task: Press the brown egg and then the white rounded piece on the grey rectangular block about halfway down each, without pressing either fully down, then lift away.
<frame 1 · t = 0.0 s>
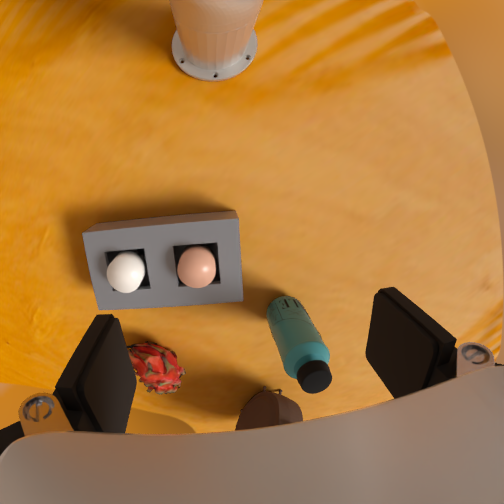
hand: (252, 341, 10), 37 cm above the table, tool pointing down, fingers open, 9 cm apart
beverage bottle: (282, 306, 52), on the table
alarm clock: (262, 399, 59), on the table
grey rectangular block: (167, 254, 47), on the table
dragon fruit: (157, 354, 52), on the table
brown egg: (197, 265, 42), point 6 cm above the table, slide at 0.0 cm
white rounded piece: (127, 270, 40), point 6 cm above the table, slide at 0.0 cm
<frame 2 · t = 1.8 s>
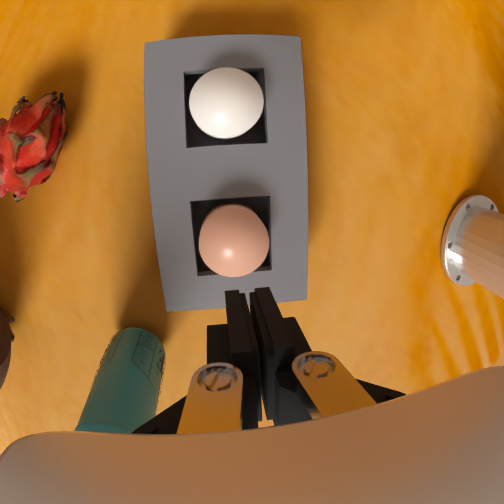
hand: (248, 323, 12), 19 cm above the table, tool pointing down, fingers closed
beverage bottle: (141, 341, 33), on the table
grey rectangular block: (225, 168, 28), on the table
dragon fruit: (43, 144, 25), on the table
brown egg: (232, 236, 24), point 6 cm above the table, slide at 0.0 cm
white rounded piece: (225, 105, 21), point 6 cm above the table, slide at 0.0 cm
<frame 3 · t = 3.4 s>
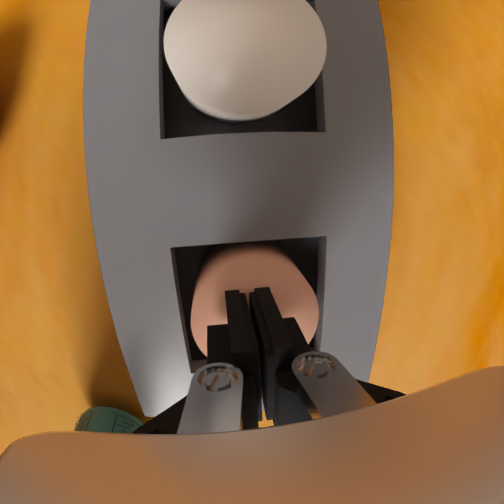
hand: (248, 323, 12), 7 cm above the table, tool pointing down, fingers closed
beverage bottle: (120, 416, 21), on the table
grey rectangular block: (236, 176, 17), on the table
brown egg: (250, 300, 14), point 5 cm above the table, slide at 1.1 cm, touching gripper
white rounded piece: (241, 55, 9), point 6 cm above the table, slide at 0.0 cm
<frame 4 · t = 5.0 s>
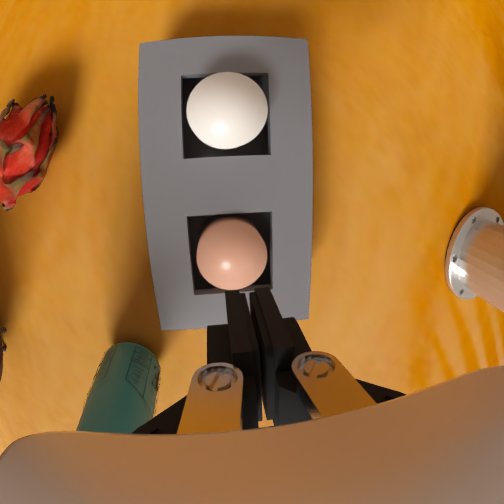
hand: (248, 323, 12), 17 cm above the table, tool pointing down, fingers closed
beverage bottle: (136, 355, 31), on the table
grey rectangular block: (224, 178, 26), on the table
dragon fruit: (33, 150, 23), on the table
brown egg: (230, 249, 24), point 5 cm above the table, slide at 1.4 cm
white rounded piece: (225, 113, 19), point 6 cm above the table, slide at 0.0 cm
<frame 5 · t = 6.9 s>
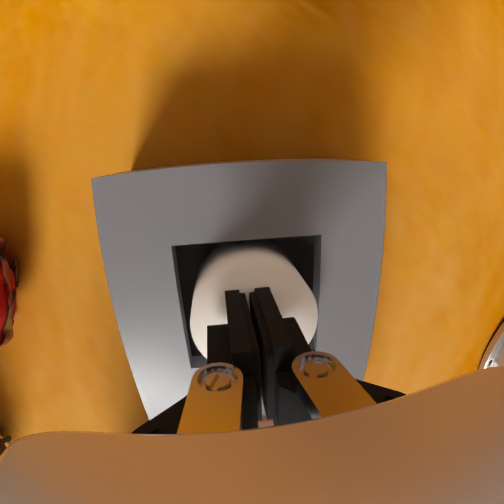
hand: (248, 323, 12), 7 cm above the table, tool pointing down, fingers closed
grey rectangular block: (244, 332, 20), on the table
brown egg: (255, 430, 17), point 5 cm above the table, slide at 1.4 cm
white rounded piece: (249, 302, 14), point 5 cm above the table, slide at 0.6 cm, touching gripper
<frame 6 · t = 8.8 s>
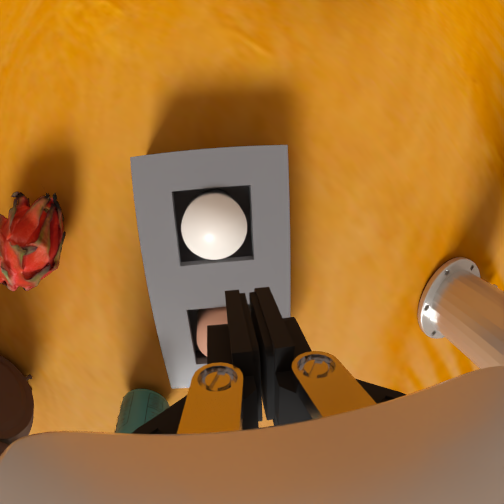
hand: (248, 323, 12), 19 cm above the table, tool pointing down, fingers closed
beverage bottle: (148, 396, 36), on the table
alarm clock: (10, 368, 32), on the table
grey rectangular block: (216, 261, 31), on the table
dragon fruit: (42, 231, 27), on the table
brown egg: (223, 327, 28), point 5 cm above the table, slide at 1.4 cm
white rounded piece: (213, 222, 25), point 5 cm above the table, slide at 1.4 cm
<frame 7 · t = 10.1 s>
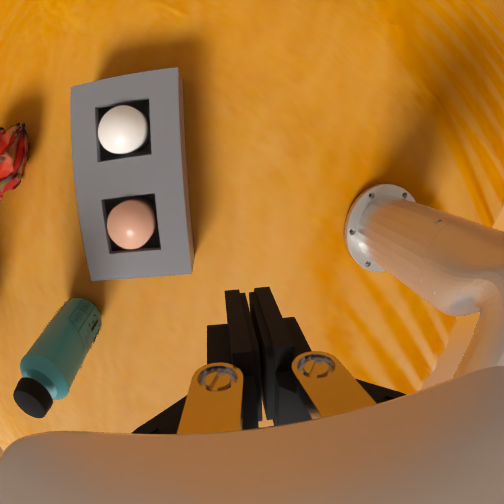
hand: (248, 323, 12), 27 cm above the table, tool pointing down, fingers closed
beverage bottle: (86, 310, 39), on the table
grey rectangular block: (138, 173, 35), on the table
dragon fruit: (15, 159, 31), on the table
brown egg: (133, 221, 32), point 5 cm above the table, slide at 1.4 cm
white rounded piece: (125, 130, 29), point 5 cm above the table, slide at 1.4 cm
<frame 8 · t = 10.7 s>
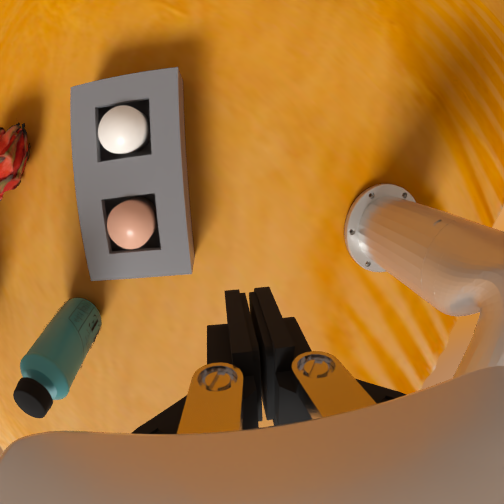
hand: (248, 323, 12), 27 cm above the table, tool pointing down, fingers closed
beverage bottle: (86, 310, 39), on the table
grey rectangular block: (138, 173, 35), on the table
dragon fruit: (15, 159, 31), on the table
brown egg: (133, 221, 32), point 5 cm above the table, slide at 1.4 cm
white rounded piece: (125, 130, 29), point 5 cm above the table, slide at 1.4 cm
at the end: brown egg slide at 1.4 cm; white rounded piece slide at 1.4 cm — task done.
